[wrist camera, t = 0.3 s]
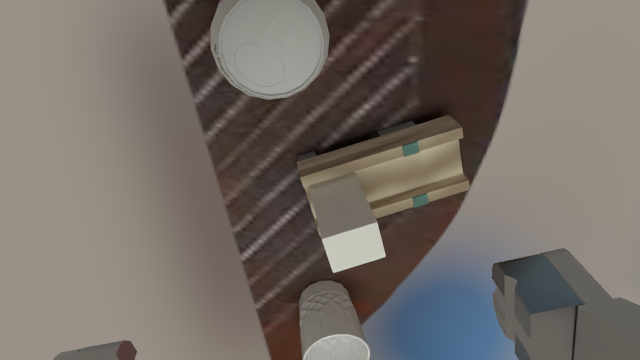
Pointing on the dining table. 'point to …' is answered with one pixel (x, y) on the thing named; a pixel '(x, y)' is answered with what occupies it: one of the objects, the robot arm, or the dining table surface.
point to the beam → (396, 166)
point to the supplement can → (269, 45)
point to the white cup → (330, 324)
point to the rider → (346, 222)
